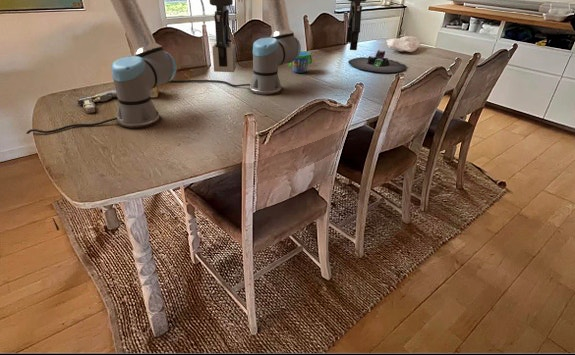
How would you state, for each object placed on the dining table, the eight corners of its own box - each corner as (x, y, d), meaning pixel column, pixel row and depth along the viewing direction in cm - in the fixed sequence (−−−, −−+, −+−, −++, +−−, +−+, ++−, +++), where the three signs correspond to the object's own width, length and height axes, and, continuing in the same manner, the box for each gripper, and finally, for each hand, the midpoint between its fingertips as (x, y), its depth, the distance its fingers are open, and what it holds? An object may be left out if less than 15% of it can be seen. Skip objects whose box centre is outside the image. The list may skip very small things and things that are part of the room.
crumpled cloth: (372, 47, 255) (376, 34, 249) (400, 41, 275) (404, 29, 269) (399, 60, 243) (404, 46, 237) (427, 52, 263) (432, 40, 257)
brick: (233, 72, 129) (232, 47, 124) (214, 71, 129) (212, 47, 124) (236, 67, 134) (235, 44, 129) (217, 67, 134) (215, 43, 129)
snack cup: (305, 67, 213) (306, 49, 208) (316, 72, 206) (318, 53, 200) (283, 70, 206) (283, 52, 200) (293, 75, 198) (294, 56, 193)
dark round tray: (418, 67, 219) (420, 52, 215) (377, 75, 202) (379, 59, 197) (375, 58, 244) (377, 43, 239) (336, 64, 226) (337, 49, 222)
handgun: (128, 97, 156) (111, 87, 164) (86, 107, 144) (70, 97, 152) (129, 103, 157) (113, 94, 165) (88, 114, 146) (72, 103, 154)
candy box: (157, 97, 164) (152, 63, 155) (147, 98, 163) (141, 63, 155) (158, 91, 171) (153, 57, 163) (149, 91, 170) (143, 58, 162)
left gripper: (227, -5, 110) (231, 71, 122) (236, -11, 125) (238, 57, 138) (202, -6, 110) (208, 70, 122) (214, -12, 125) (219, 56, 138)
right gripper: (373, -6, 132) (364, 53, 144) (362, -13, 153) (355, 40, 165) (352, -7, 132) (345, 53, 144) (345, -14, 153) (339, 39, 165)
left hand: (224, 63), depth 130 cm, fingers closed on brick, 6 cm apart
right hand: (351, 46), depth 154 cm, fingers open, 13 cm apart
